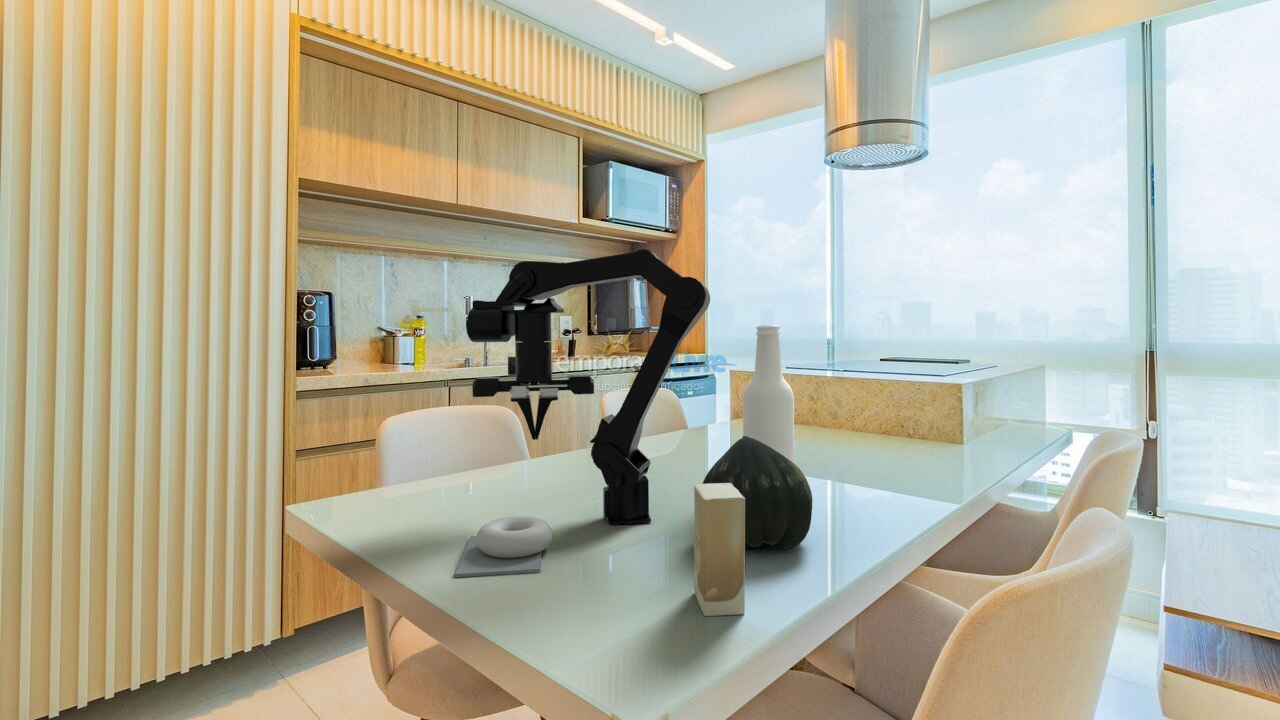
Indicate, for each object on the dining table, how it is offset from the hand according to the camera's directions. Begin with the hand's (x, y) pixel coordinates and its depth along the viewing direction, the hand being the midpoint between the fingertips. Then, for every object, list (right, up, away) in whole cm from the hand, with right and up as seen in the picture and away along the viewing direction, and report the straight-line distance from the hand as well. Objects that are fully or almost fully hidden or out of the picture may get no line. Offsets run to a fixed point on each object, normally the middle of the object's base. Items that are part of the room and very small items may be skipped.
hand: (535, 439), depth 99 cm
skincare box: (+25, -13, -34) cm, 44 cm away
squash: (+33, -13, -14) cm, 38 cm away
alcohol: (+39, -11, +10) cm, 42 cm away
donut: (+5, -11, -20) cm, 23 cm away
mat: (-1, -13, -18) cm, 22 cm away
